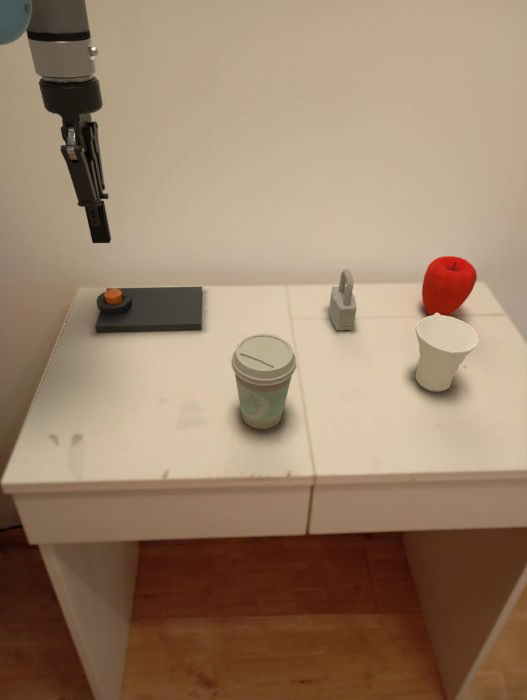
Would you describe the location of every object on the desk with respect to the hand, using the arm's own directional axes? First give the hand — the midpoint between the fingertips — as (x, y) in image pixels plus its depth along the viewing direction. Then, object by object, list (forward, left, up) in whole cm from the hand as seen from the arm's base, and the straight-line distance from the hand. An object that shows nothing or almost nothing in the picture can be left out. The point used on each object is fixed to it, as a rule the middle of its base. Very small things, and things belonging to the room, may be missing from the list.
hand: (101, 240), depth 77 cm
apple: (+57, -19, -15) cm, 62 cm away
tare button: (0, 0, -12) cm, 12 cm away
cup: (+44, -34, -15) cm, 58 cm away
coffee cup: (+16, -32, -15) cm, 39 cm away
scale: (+6, -2, -14) cm, 16 cm away
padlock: (+38, -15, -15) cm, 44 cm away
